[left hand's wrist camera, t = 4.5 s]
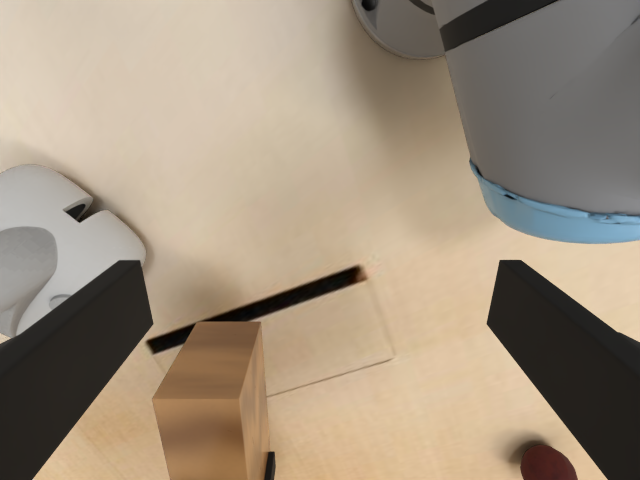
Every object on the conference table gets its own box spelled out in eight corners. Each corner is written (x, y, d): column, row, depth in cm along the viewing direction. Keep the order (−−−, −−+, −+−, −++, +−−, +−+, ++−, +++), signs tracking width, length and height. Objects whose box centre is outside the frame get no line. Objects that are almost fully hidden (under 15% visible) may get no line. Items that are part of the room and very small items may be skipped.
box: (197, 321, 37) (151, 398, 27) (261, 321, 37) (239, 399, 27) (219, 469, 45) (190, 571, 35) (271, 469, 45) (257, 571, 35)
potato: (514, 472, 57) (540, 519, 50) (508, 440, 54) (534, 486, 48) (560, 462, 56) (591, 509, 49) (555, 429, 53) (589, 474, 47)
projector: (-61, 164, 39) (-269, 194, 25) (138, 155, 38) (38, 180, 25) (10, 328, 47) (-118, 418, 33) (176, 321, 46) (116, 411, 33)
